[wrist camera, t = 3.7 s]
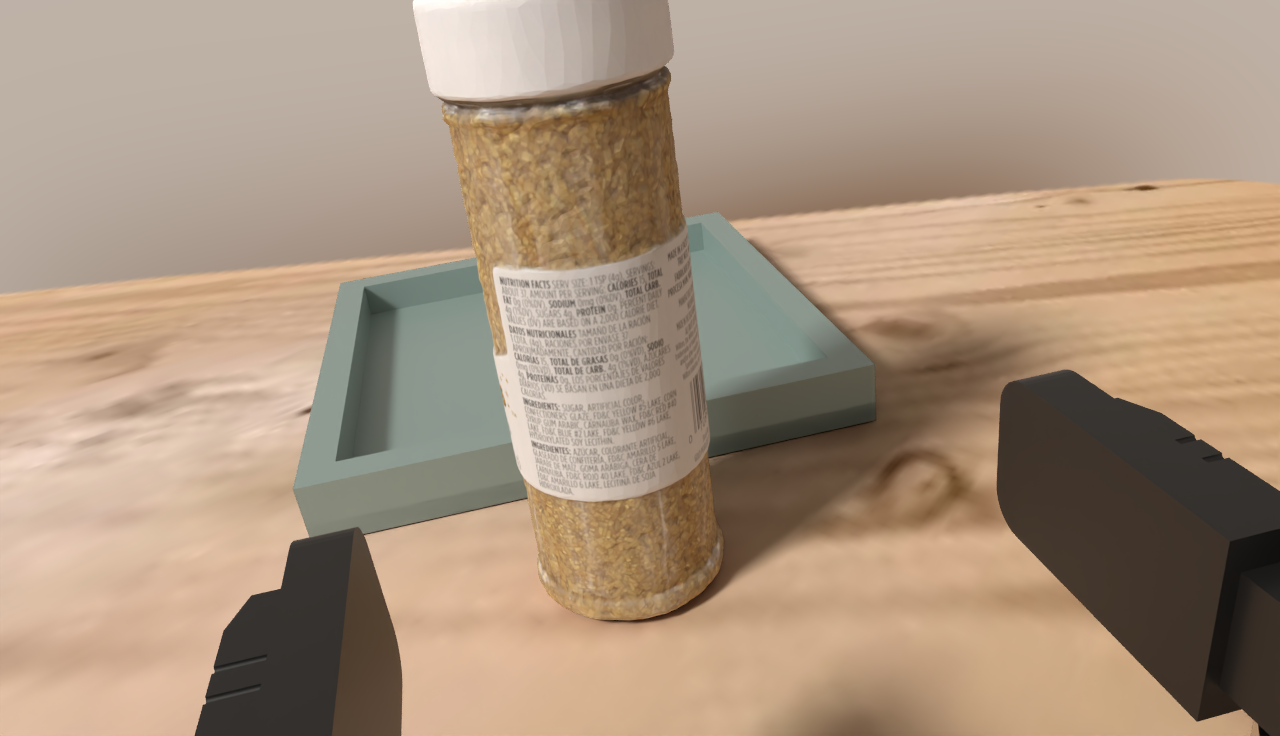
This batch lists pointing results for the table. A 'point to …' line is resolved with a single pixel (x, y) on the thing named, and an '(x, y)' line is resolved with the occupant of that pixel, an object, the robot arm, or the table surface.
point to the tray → (472, 400)
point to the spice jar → (585, 286)
